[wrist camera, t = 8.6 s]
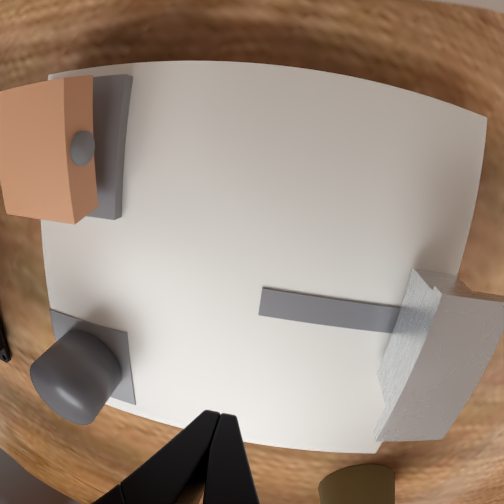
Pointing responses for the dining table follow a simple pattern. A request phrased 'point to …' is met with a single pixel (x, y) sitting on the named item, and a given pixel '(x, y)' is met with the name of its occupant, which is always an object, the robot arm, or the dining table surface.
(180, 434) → the robot arm
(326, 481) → the olive pawn
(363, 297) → the panel
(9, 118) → the peach slab
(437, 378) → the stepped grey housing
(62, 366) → the button
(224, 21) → the dining table surface
